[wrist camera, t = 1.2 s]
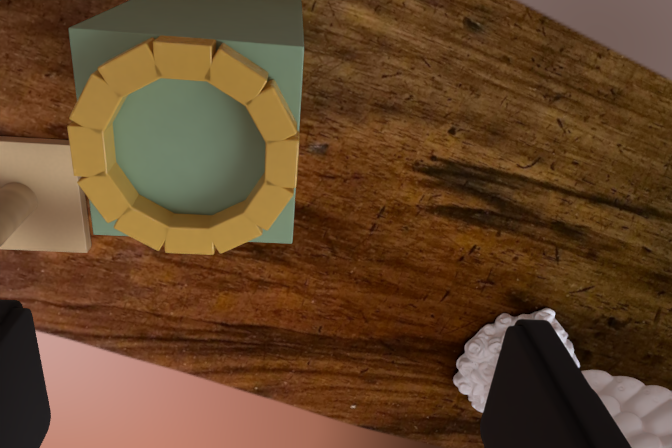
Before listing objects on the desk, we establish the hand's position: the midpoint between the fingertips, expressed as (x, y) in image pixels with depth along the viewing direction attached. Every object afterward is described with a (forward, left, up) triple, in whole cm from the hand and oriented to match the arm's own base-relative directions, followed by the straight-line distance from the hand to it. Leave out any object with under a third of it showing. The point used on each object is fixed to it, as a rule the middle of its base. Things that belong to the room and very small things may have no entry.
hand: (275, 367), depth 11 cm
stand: (0, -4, -28) cm, 28 cm away
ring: (0, -4, -12) cm, 12 cm away
